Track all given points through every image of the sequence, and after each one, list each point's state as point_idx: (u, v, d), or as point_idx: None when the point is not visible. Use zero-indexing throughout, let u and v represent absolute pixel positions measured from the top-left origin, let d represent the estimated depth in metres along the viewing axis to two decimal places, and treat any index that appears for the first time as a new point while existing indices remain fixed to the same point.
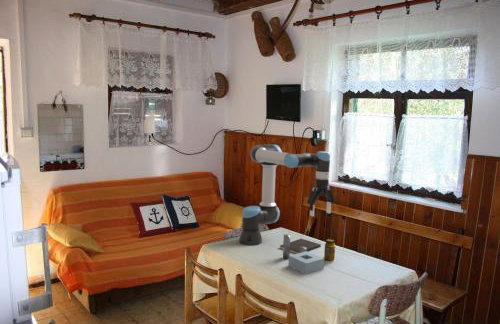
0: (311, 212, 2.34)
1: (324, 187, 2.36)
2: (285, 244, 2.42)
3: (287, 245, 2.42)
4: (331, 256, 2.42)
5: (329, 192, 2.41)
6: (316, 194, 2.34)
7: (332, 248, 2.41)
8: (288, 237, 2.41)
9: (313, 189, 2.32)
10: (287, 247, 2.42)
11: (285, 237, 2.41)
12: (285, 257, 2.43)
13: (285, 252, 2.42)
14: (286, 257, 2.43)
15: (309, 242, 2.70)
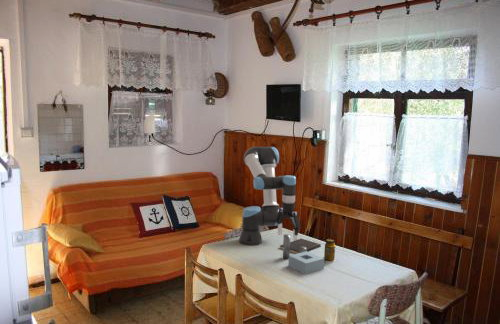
0: None
1: (287, 211, 2.40)
2: (285, 244, 2.42)
3: (287, 245, 2.42)
4: (331, 256, 2.42)
5: None
6: None
7: (332, 248, 2.41)
8: (288, 237, 2.41)
9: None
10: (287, 247, 2.42)
11: (285, 237, 2.41)
12: (285, 257, 2.43)
13: (285, 252, 2.42)
14: (286, 257, 2.43)
15: (309, 242, 2.71)
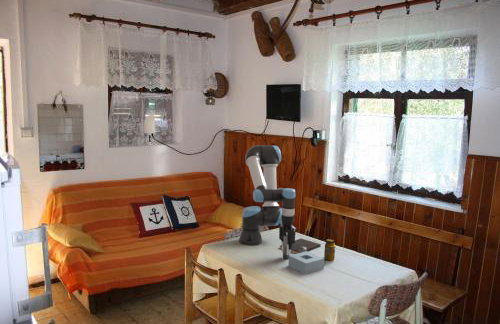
0: None
1: None
2: (285, 244, 2.42)
3: None
4: (331, 256, 2.42)
5: None
6: None
7: (332, 248, 2.41)
8: None
9: None
10: None
11: (285, 237, 2.42)
12: (285, 257, 2.43)
13: (285, 252, 2.42)
14: (286, 257, 2.43)
15: (309, 242, 2.71)
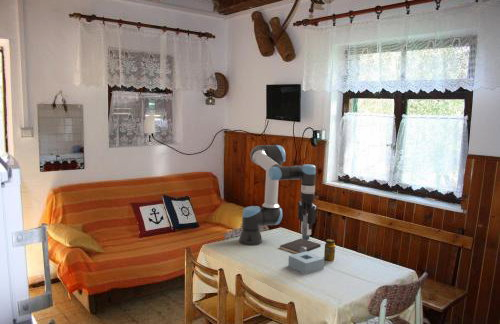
0: None
1: (307, 200, 2.25)
2: (305, 224, 2.27)
3: None
4: (331, 256, 2.42)
5: None
6: None
7: (332, 248, 2.41)
8: None
9: None
10: None
11: (305, 216, 2.27)
12: (305, 237, 2.28)
13: (305, 232, 2.28)
14: (306, 237, 2.28)
15: (309, 242, 2.71)
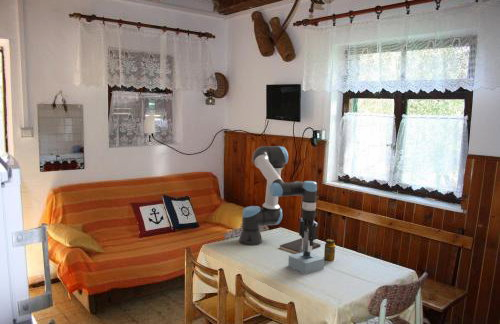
0: None
1: (309, 217, 2.26)
2: (306, 240, 2.27)
3: None
4: (331, 256, 2.42)
5: None
6: None
7: (332, 248, 2.41)
8: None
9: None
10: None
11: (306, 233, 2.27)
12: (306, 254, 2.28)
13: (306, 249, 2.28)
14: (307, 254, 2.28)
15: None
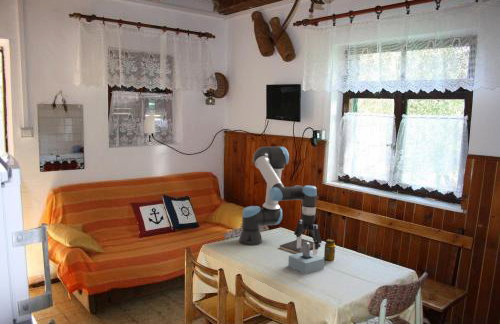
0: None
1: (308, 223, 2.26)
2: (305, 252, 2.29)
3: (307, 253, 2.29)
4: (331, 256, 2.42)
5: None
6: None
7: (332, 248, 2.41)
8: (308, 245, 2.28)
9: None
10: (307, 255, 2.29)
11: (304, 245, 2.28)
12: None
13: None
14: None
15: (309, 242, 2.71)
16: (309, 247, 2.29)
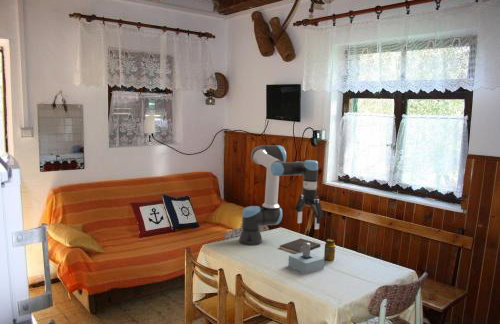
0: None
1: (309, 198, 2.25)
2: (305, 252, 2.28)
3: (307, 253, 2.28)
4: (331, 256, 2.42)
5: None
6: None
7: (332, 248, 2.41)
8: (308, 245, 2.28)
9: None
10: (307, 255, 2.28)
11: (305, 245, 2.28)
12: None
13: None
14: None
15: (309, 242, 2.71)
16: (309, 247, 2.29)
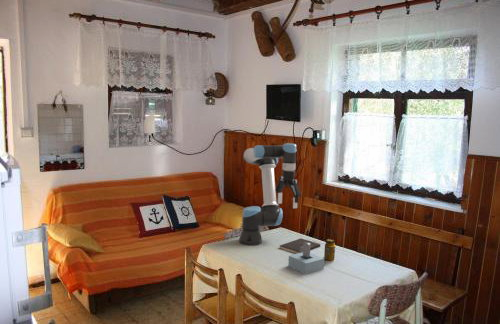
0: None
1: (288, 179, 2.38)
2: (305, 252, 2.28)
3: (307, 253, 2.28)
4: (331, 256, 2.42)
5: None
6: None
7: (332, 248, 2.41)
8: (308, 245, 2.28)
9: None
10: (307, 256, 2.28)
11: (305, 245, 2.28)
12: None
13: None
14: None
15: (309, 242, 2.71)
16: (309, 247, 2.28)
